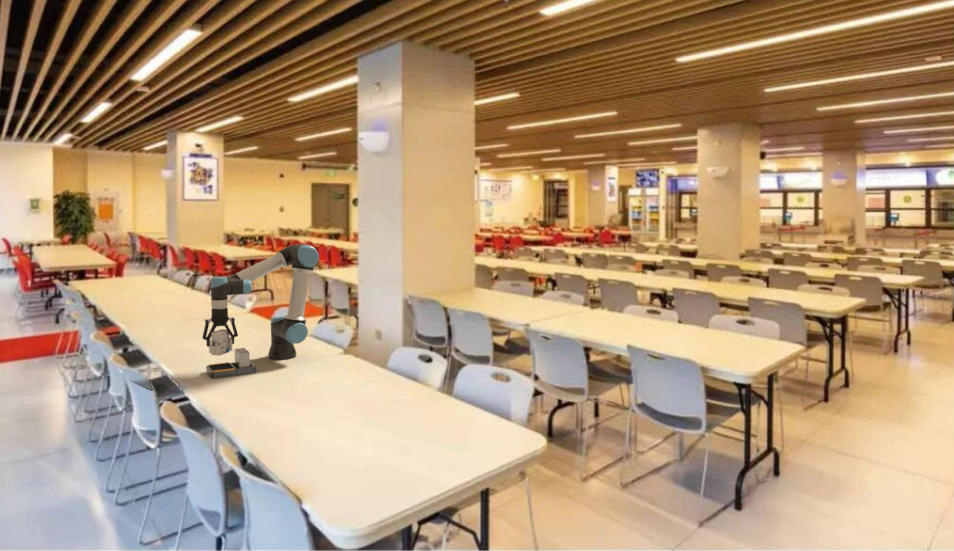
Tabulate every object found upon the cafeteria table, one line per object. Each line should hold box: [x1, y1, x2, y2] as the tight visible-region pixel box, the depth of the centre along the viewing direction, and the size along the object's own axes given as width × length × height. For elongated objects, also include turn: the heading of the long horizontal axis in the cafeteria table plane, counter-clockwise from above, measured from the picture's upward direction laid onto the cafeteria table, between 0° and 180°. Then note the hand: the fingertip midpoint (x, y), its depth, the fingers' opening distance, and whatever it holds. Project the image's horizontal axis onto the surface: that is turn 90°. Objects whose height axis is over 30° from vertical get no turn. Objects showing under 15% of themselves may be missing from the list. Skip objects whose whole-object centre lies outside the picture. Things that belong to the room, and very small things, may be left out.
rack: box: [206, 347, 257, 380], centre depth 307 cm, size 21×15×11 cm
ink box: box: [210, 328, 231, 357], centre depth 303 cm, size 9×5×12 cm, turn 169°
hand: (220, 351), depth 303 cm, fingers closed on ink box, 9 cm apart
